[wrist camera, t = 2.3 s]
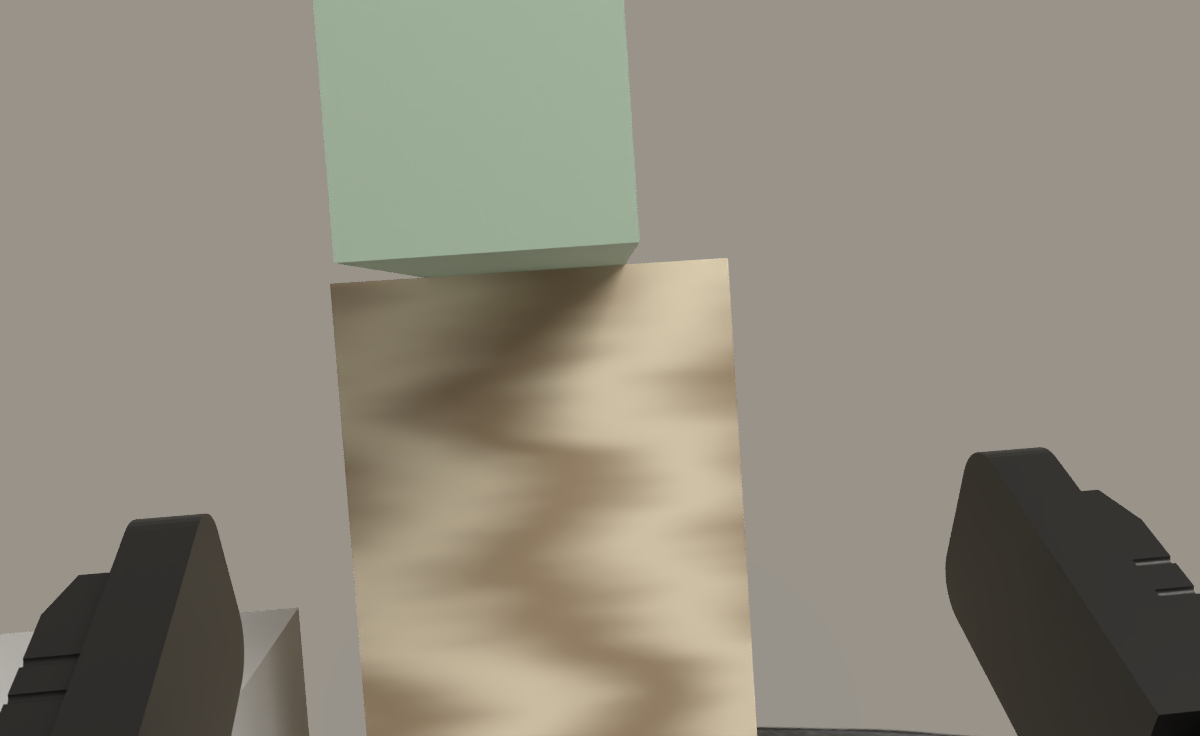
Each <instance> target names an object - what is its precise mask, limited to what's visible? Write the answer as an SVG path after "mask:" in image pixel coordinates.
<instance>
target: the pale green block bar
mask: <svg viewBox="0 0 1200 736" xmlns="http://www.w3.org/2000/svg"><path fill="white" fill-rule="evenodd" d="M313 6H314V7H313V8H314V21H315V33H316V45H317V57H318V70H319V83H320V95H321V107H322V120H323V132H324V144H325V156H326V169H327V180H328V194H329V206H330V219H331V231H332V242H333V255H334V263H338V264H344V265H350V266H356V267H363V268H368V269H375V270H381V271H387V272H394V273H400V274H406V275H412V276H418V277H424V278H428V277H443V276H459V275H474V274H490V273H505V272H520V271H536V270H551V269H567V268H582V267H597V266H613V265H625V264H626V262H627V261H628V259H629V258H630V256H631V255H632V253H633V252H634V250H635V249H636V247H637V245H638V244H639V242H640V240H639V225H638V211H637V210H638V208H637V193H636V178H635V163H634V148H633V134H632V133H633V132H632V117H631V102H630V88H629V72H628V57H627V41H626V25H625V10H624V0H313Z"/></svg>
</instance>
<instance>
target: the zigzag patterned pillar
mask: <svg viewBox="0 0 1200 736" xmlns="http://www.w3.org/2000/svg"><path fill="white" fill-rule="evenodd" d="M330 287H331V300H332V313H333V324H334V337H335V349H336V361H337V374H338V386H339V398H340V410H341V422H342V436H343V448H344V459H345V473H346V485H347V497H348V508H349V509H348V510H349V522H350V534H351V547H352V559H353V571H354V584H355V596H356V608H357V620H358V633H359V644H360V658H361V670H362V682H363V695H364V707H365V719H366V732H367V736H757V726H756V709H755V694H754V677H753V660H752V645H751V628H750V612H749V597H748V596H749V595H748V579H747V563H746V547H745V530H744V514H743V498H742V481H741V464H740V449H739V432H738V417H737V400H736V384H735V366H734V350H733V334H732V317H731V301H730V286H729V268H728V258H721V259H705V260H690V261H674V262H659V263H643V264H628V265H613V266H597V267H582V268H567V269H551V270H536V271H520V272H505V273H490V274H474V275H459V276H443V277H428V278H412V279H397V280H382V281H366V282H351V283H335V284H330Z"/></svg>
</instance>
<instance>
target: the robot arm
mask: <svg viewBox="0 0 1200 736" xmlns="http://www.w3.org/2000/svg"><path fill="white" fill-rule="evenodd" d="M946 583H947V589H948V594H949V598H950V602H951V605H952V609H953V611H954V613H955V616H956V618H957V620H958V622H959V624H960V626H961V627H962V629H963V631H964V633H965V635H966V637H967V639H968V641H969V642H970V645H971V647H972V648H973V650H974V652H975V654H976V656H977V658H978V660H979V662H980V664H981V666H982V668H983V670H984V672H985V674H986V675H987V677H988V679H989V681H990V683H991V685H992V687H993V689H994V691H995V693H996V695H997V697H998V698H999V700H1000V702H1001V704H1002V706H1003V708H1004V710H1005V712H1006V714H1007V716H1008V718H1009V719H1010V722H1011V723H1012V725H1013V727H1014V729H1015V731H1016V733H1017V735H1018V736H1200V594H1195V592H1194V586H1193V584H1192V583H1191V582H1190V580H1189V579H1188V578H1187V577H1186V575H1185V574H1184V573H1183V571H1182V570H1181V569H1180V568H1179V566H1178V565H1177V564H1176V563H1174V564H1172V563H1171V561H1170V555H1169V554H1168V553H1167V551H1166V550H1165V549H1164V547H1163V546H1162V545H1161V544H1160V542H1159V541H1158V540H1157V539H1156V537H1155V536H1154V535H1153V534H1152V532H1151V531H1150V530H1149V529H1148V527H1147V526H1146V525H1145V523H1144V522H1143V521H1142V520H1141V519H1140V518H1138V517H1137V516H1135V515H1134V514H1132V513H1131V512H1130V511H1128V510H1127V509H1125V508H1124V507H1122V506H1121V505H1119V504H1118V503H1117V502H1115V501H1114V500H1112V499H1111V498H1109V497H1108V496H1106V495H1105V494H1104V493H1102V492H1101V491H1099V490H1091V491H1081V490H1080V489H1079V488H1078V487H1077V485H1076V484H1075V482H1074V481H1073V480H1072V478H1071V477H1070V476H1069V474H1068V473H1067V472H1066V470H1065V469H1064V468H1063V467H1062V465H1061V464H1060V462H1059V461H1058V460H1057V458H1056V457H1055V456H1054V455H1053V454H1052V453H1051V452H1050V451H1049V450H1048V449H1045V448H1041V447H1038V448H1027V449H1014V450H1002V451H990V452H977V453H974V454H973V455H971V457H970V458H969V459H968V461H967V463H966V466H965V470H964V475H963V479H962V484H961V489H960V494H959V499H958V503H957V508H956V513H955V518H954V523H953V528H952V532H951V537H950V542H949V547H948V552H947V557H946ZM243 671H244V637H243V628H242V622H241V617H240V613H239V610H238V606H237V603H236V598H235V595H234V591H233V587H232V583H231V580H230V576H229V572H228V568H227V565H226V561H225V557H224V553H223V550H222V546H221V542H220V538H219V534H218V530H217V527H216V524H215V522H214V520H213V518H212V517H211V516H210V515H209V514H196V515H184V516H172V517H160V518H148V519H136V520H133V521H131V522H130V524H129V525H128V526H127V528H126V531H125V533H124V536H123V539H122V541H121V544H120V547H119V549H118V552H117V555H116V558H115V560H114V563H113V566H112V568H111V571H110V573H99V574H88V575H78V577H77V578H76V579H75V580H74V581H73V582H72V583H71V584H70V585H69V586H68V587H67V588H66V589H65V590H64V591H63V592H62V593H61V595H60V596H59V597H58V598H57V599H56V600H55V601H54V602H53V603H52V604H51V605H50V606H49V607H48V608H47V609H46V610H45V612H44V613H43V614H42V615H41V617H40V619H39V622H38V624H37V626H36V628H35V631H34V633H33V636H32V638H31V640H30V643H29V645H28V647H27V650H26V652H25V655H24V657H23V667H19V669H18V671H17V673H16V676H15V678H14V681H13V683H12V685H11V688H10V690H9V692H8V703H7V704H3V707H2V709H1V711H0V736H231V735H232V730H233V725H234V720H235V715H236V710H237V705H238V700H239V695H240V690H241V685H242V679H243Z"/></svg>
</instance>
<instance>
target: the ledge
mask: <svg viewBox="0 0 1200 736" xmlns="http://www.w3.org/2000/svg"><path fill="white" fill-rule="evenodd" d="M240 617H241V622H242V628H243V637H244V671H243V679H242V685H241V690H240V695H239V700H238V705H237V710H236V715H235V720H234V725H233V730H232V735H231V736H309V730H308V718H307V707H306V695H305V682H304V672H303V671H304V670H303V658H302V648H301V647H302V646H301V636H300V635H301V634H300V622H299V611H298V608H289V609H278V610H266V611H256V612H244V613H240ZM33 633H34V631H31V632H20V633H9V634H0V711H1V709H2V707H3V704H7V703H8V692H9V690H10V688H11V685H12V683H13V681H14V678H15V676H16V673H17V671H18V669H19V667H23V657H24V655H25V652H26V650H27V647H28V645H29V643H30V640H31V638H32V636H33Z"/></svg>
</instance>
